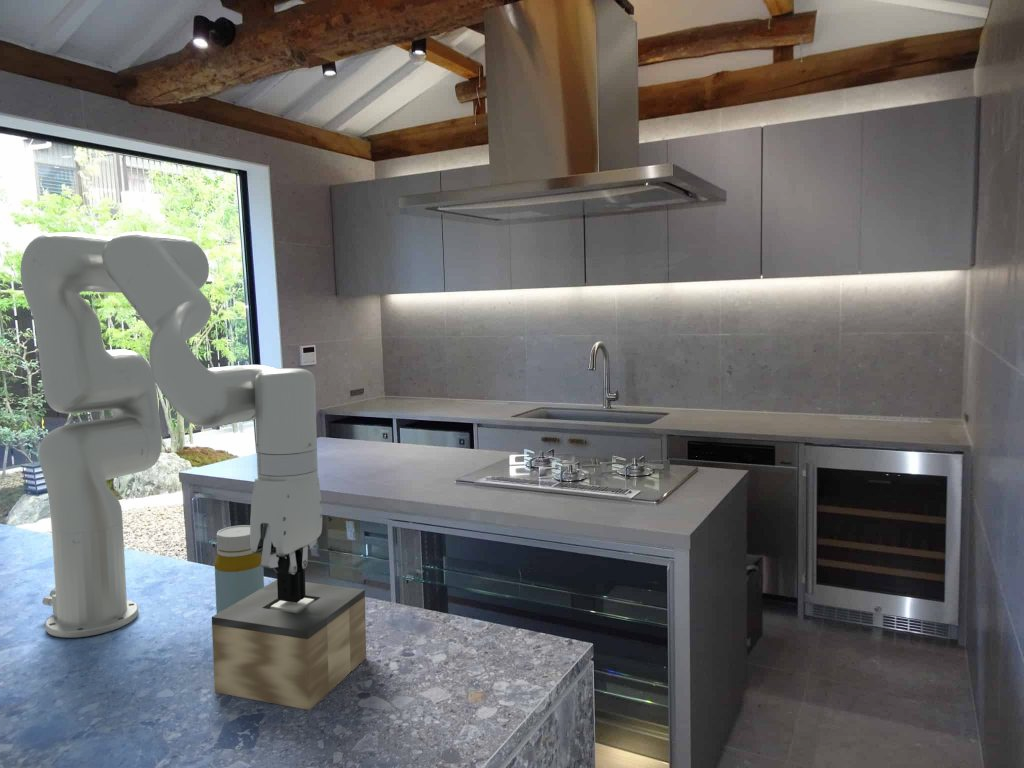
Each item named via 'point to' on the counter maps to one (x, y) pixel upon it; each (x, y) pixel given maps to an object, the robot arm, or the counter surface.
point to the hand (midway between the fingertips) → (291, 598)
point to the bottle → (236, 567)
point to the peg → (292, 605)
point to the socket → (289, 645)
